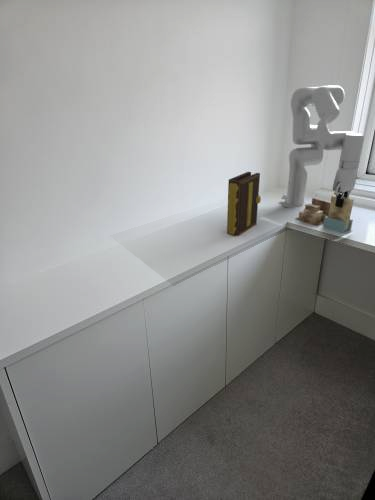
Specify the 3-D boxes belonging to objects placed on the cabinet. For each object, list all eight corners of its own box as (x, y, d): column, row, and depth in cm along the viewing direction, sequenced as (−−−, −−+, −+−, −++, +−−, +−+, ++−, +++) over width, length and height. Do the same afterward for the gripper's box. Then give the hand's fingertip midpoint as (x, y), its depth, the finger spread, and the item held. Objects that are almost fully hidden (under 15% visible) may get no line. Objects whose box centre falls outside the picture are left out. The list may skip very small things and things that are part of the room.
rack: (293, 220, 163) (296, 203, 159) (311, 214, 170) (313, 197, 166) (316, 228, 153) (319, 210, 149) (333, 221, 160) (337, 203, 156)
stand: (320, 229, 152) (322, 217, 149) (332, 225, 156) (334, 213, 154) (340, 236, 144) (343, 223, 142) (351, 231, 149) (354, 219, 146)
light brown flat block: (326, 224, 152) (331, 195, 146) (329, 223, 154) (334, 194, 148) (344, 230, 146) (350, 200, 140) (347, 229, 147) (353, 199, 141)
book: (239, 237, 146) (242, 182, 135) (223, 233, 151) (224, 180, 140) (261, 222, 162) (265, 172, 151) (245, 219, 167) (248, 170, 156)
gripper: (350, 160, 144) (343, 200, 152) (329, 165, 136) (322, 207, 144) (367, 163, 139) (358, 204, 147) (346, 168, 130) (337, 212, 139)
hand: (340, 205), depth 145 cm, fingers closed on light brown flat block, 2 cm apart
